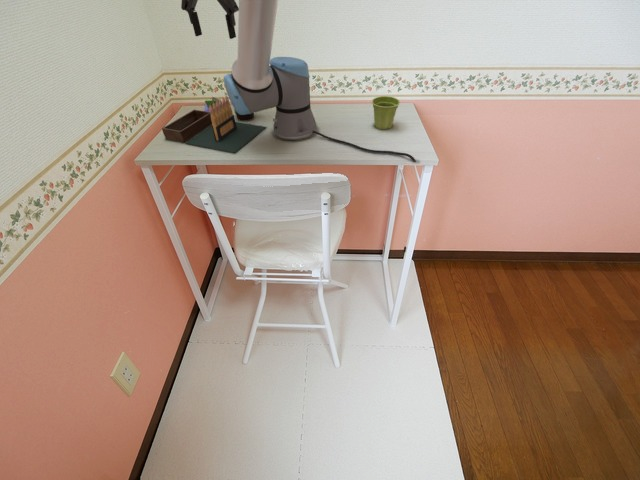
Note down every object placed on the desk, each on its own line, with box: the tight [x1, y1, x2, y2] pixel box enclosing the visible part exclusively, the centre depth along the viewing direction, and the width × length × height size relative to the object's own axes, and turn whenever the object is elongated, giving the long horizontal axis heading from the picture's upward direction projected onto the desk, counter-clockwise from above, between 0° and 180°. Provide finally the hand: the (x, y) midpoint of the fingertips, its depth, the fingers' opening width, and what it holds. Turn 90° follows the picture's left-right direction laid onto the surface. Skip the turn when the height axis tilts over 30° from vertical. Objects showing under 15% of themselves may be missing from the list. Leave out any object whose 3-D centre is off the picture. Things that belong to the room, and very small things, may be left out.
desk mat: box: [185, 121, 266, 155], centre depth 116 cm, size 20×20×1 cm
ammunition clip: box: [209, 94, 237, 141], centre depth 112 cm, size 11×2×12 cm, turn 157°
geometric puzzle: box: [203, 96, 223, 112], centre depth 127 cm, size 7×7×8 cm
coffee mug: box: [233, 108, 255, 122], centre depth 125 cm, size 12×9×10 cm
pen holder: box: [161, 109, 212, 144], centre depth 119 cm, size 8×17×4 cm, turn 157°
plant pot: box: [371, 95, 401, 130], centre depth 114 cm, size 9×9×9 cm
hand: (215, 36), depth 110 cm, fingers open, 13 cm apart
